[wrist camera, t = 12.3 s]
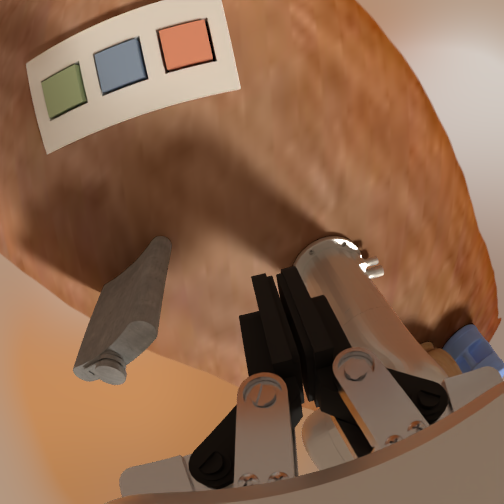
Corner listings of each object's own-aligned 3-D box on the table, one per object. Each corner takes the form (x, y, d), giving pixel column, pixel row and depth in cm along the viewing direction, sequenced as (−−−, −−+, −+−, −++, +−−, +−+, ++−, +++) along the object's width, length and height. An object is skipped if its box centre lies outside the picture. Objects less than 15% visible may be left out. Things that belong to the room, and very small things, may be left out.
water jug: (477, 329, 73) (518, 384, 49) (447, 360, 78) (483, 418, 54) (468, 317, 66) (517, 380, 43) (433, 352, 72) (475, 419, 48)
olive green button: (84, 66, 25) (74, 64, 23) (91, 100, 28) (82, 101, 26) (52, 82, 25) (41, 82, 23) (60, 115, 28) (49, 118, 25)
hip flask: (161, 231, 40) (135, 334, 23) (180, 250, 42) (168, 357, 25) (99, 289, 43) (64, 387, 26) (117, 303, 45) (91, 402, 28)
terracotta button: (204, 25, 26) (204, 19, 23) (212, 61, 29) (212, 57, 26) (162, 36, 26) (158, 30, 23) (170, 71, 28) (167, 69, 26)
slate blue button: (141, 43, 26) (135, 38, 23) (148, 78, 28) (143, 76, 26) (103, 57, 26) (94, 54, 23) (110, 92, 28) (102, 92, 26)
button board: (217, -4, 24) (218, -12, 22) (238, 89, 31) (240, 88, 29) (36, 64, 23) (25, 63, 21) (56, 150, 31) (46, 154, 28)
